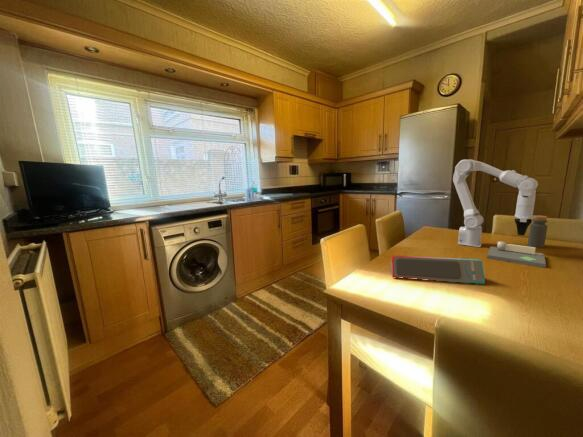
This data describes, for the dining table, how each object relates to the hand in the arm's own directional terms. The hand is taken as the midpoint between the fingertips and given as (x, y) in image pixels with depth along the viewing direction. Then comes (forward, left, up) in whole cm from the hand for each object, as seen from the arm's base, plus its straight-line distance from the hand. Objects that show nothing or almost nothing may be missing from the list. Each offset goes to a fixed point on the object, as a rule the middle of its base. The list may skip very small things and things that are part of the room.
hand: (520, 234), depth 110 cm
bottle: (+6, +16, -9) cm, 19 cm away
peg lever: (0, -6, -7) cm, 9 cm away
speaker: (-23, -51, -9) cm, 56 cm away
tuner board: (-1, -9, -8) cm, 13 cm away
